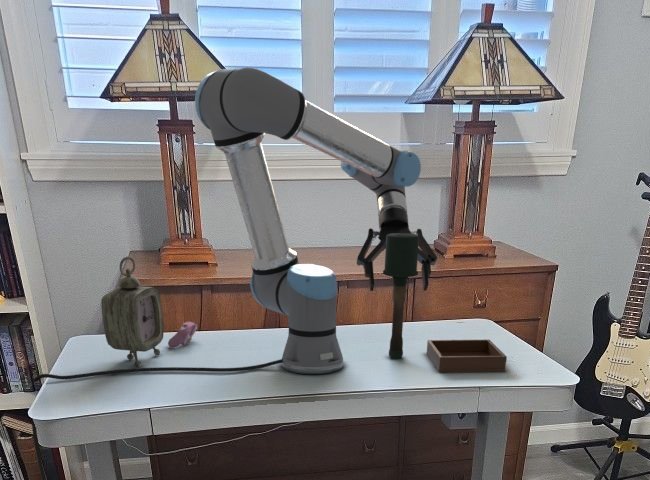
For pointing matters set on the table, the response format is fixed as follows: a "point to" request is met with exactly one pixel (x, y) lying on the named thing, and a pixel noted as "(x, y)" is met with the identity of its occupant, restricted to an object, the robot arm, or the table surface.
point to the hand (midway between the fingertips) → (399, 287)
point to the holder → (466, 356)
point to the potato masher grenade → (400, 280)
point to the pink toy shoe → (183, 335)
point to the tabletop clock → (132, 316)
